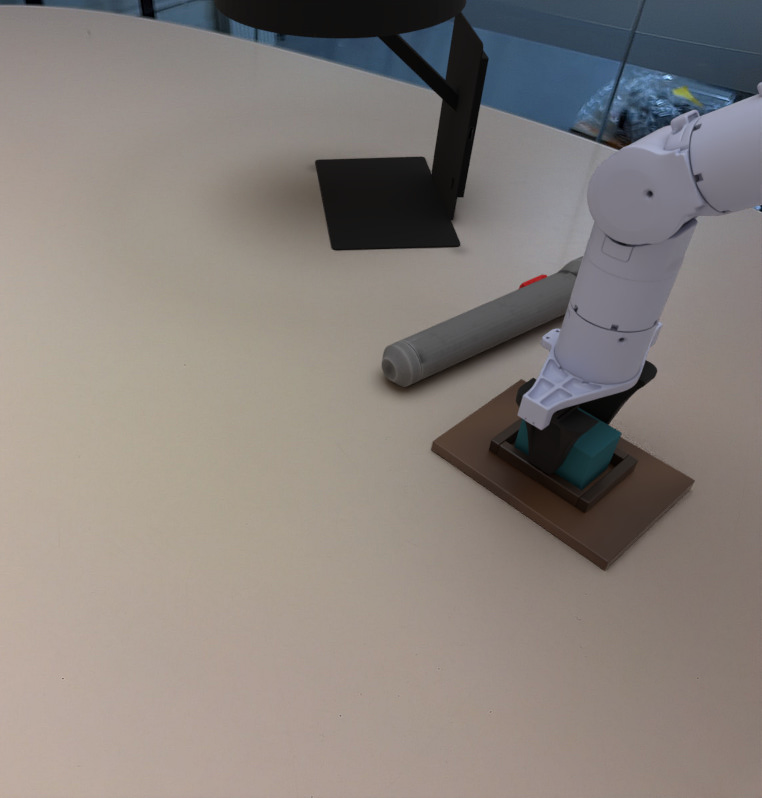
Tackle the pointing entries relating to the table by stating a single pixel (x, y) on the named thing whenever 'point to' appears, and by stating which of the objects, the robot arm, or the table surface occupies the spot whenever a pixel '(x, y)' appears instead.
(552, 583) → the table surface
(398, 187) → the table lamp
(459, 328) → the flashlight
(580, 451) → the teal block
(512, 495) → the brown board with frame
